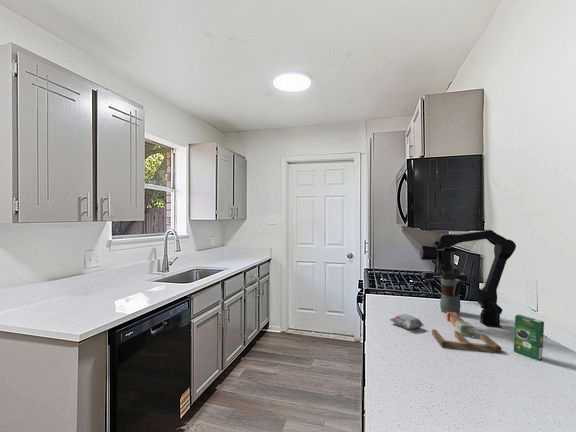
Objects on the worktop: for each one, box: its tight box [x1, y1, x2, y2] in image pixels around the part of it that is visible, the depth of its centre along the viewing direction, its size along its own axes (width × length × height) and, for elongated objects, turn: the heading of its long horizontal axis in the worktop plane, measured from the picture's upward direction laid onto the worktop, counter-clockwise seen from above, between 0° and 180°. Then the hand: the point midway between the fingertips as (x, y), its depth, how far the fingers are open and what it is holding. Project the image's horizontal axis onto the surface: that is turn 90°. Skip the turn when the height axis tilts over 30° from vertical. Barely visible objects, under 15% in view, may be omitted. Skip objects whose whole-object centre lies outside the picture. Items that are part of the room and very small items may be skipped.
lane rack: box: [431, 329, 502, 354], centre depth 118 cm, size 20×13×2 cm, turn 80°
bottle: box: [439, 252, 461, 315], centre depth 158 cm, size 9×9×30 cm
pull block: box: [445, 312, 475, 337], centre depth 135 cm, size 5×20×4 cm, turn 170°
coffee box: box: [513, 314, 545, 361], centre depth 108 cm, size 8×3×13 cm, turn 25°
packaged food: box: [388, 313, 425, 330], centre depth 134 cm, size 9×12×5 cm
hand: (443, 294), depth 144 cm, fingers open, 9 cm apart
